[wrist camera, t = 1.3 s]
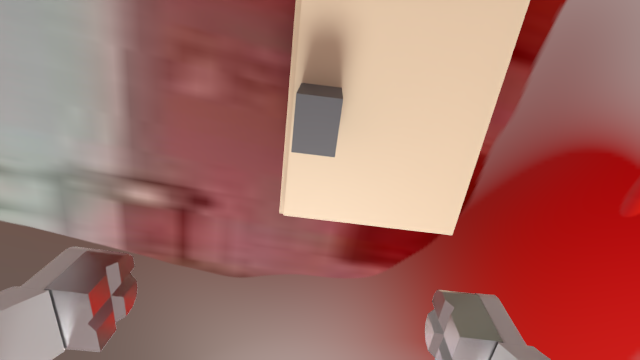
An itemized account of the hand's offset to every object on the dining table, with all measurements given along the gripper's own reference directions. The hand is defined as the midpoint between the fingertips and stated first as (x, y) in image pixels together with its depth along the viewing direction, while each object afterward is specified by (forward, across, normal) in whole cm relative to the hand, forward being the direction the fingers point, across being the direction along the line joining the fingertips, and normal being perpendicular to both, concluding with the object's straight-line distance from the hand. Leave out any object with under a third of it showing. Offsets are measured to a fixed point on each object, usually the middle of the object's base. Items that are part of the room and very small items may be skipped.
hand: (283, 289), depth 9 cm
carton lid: (+20, -6, 0) cm, 21 cm away
